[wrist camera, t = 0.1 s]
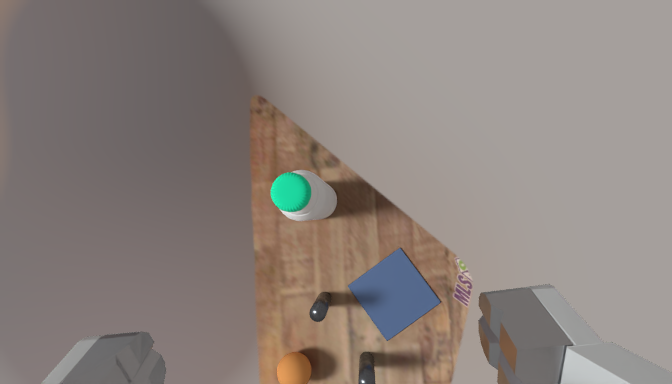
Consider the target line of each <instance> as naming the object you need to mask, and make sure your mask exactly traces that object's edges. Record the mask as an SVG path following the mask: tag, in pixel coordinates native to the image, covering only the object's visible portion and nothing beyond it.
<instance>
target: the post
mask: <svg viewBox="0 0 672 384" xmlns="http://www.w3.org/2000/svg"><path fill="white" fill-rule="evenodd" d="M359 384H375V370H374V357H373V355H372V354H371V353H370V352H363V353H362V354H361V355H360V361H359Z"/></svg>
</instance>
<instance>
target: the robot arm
mask: <svg viewBox="0 0 672 384" xmlns="http://www.w3.org/2000/svg"><path fill="white" fill-rule="evenodd" d="M479 307H480V309H481V311H482V313H483V316H482V317H481V318H480V319H479V335H480V340H481V345H482V347H483V351H484V353H485V356H486V358H487V360H488V362H489V364H490V365H492V366H493V367H495V368H496V369H497V370H498V384H672V372H670V371H667V370H666V369H664V368H662V367H660V366H658V365H656V364H654V363H652V362H650V361H648V360H646V359H644V358H642V357H640V356H638V355H636V354H634V353H632V352H631V351H629V350H627V349H625V348H623V347H621V346H619V345H617V344H615V343H613V342H606V343H604V342H603V341H602V340H601V339H600V337H599V336H598V335H597V334H596V333H595V332H594V331H593V330H592V329H591V327H590V326H589V325H588V324H587V323H586V322H585V321H584V320H583V318H582V317H581V316H580V315H579V314H578V313H577V312H576V311H575V309H574V308H573V307H572V306H571V305H570V304H569V303H568V302H567V300H566V299H565V298H564V297H563V296H562V295H561V294H560V292H559V291H558V290H557V289H556V288H555V287H554V286H552V285H550V284H546V285H538V286H530V287H526V288H516V289H507V290H500V291H491V292H483V293H481V294H480V296H479ZM153 344H154V341H153V339H152V337H151V336H150V334H149V333H147V332H132V333H120V334H110V335H103V336H90V337H86V338H84V339H82V340H80V341H78V343H77V344H76V345H75V346H74V347H73V348H72V349H71V350H70V352H69V353H68V354H67V355H66V356H65V357H64V358H63V360H62V361H61V362H60V363H59V364H58V365H57V366H56V367H55V368H54V370H53V371H52V372H51V373H50V374H49V375H48V376H47V378H46V379H45V380H44V381H43V382H42V383H41V384H164V379H165V374H166V367H165V362H164V360H163V358H162V356H161V354H159V353H158V352H156V351H155V350H153V349H152V347H153Z"/></svg>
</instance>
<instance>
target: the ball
mask: <svg viewBox="0 0 672 384" xmlns="http://www.w3.org/2000/svg"><path fill="white" fill-rule="evenodd" d="M310 376H311V364H310V362H309V360H308V358H307V357H306V356H305V355H303V354H302V353H299V352H292V353H289V354H287V355H285V356H284V357H283V358H282V359H281V361H280V363H279V365H278V368H277V377H278V380H279V382H280V384H307V383H308V381H309V379H310Z"/></svg>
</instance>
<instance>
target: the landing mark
mask: <svg viewBox="0 0 672 384" xmlns="http://www.w3.org/2000/svg"><path fill="white" fill-rule="evenodd" d="M348 287H349V288H350V290H351V291H352V293H353V294H354V295H355V297H356V298H357V300H358V301H359V302H360V304H361V305H362V307H363V308H364V309H365V311H366V312H367V314H368V315H369V316H370V318H371V319H372V321H373V322H374V323H375V325H376V326H377V328H378V329H379V330H380V332H381V333H382V335H383V336H384V337H385V339H386V340H387V341H388V340H389V339H391V338H392V337H393V336H395V335H396V334H397V333H399V332H400V331H402V330H403V329H404V328H406V327H407V326H409V325H410V324H411V323H413V322H414V321H415V320H417V319H418V318H420V317H421V316H422V315H424V314H425V313H427V312H428V311H429V310H431V309H432V308H434V307H435V306H436V305H438V304H439V303H440V301H439V299H438V298H437V297H436V295H435V294H434V293H433V291H432V290H431V289H430V287H429V286H428V285H427V283H426V282H425V281H424V279H423V278H422V276H421V275H420V274H419V272H418V271H417V270H416V268H415V267H414V266H413V264H412V263H411V262H410V260H409V259H408V258H407V256H406V255H405V254H404V252H403V251H402V250H401V248H399V249H398V250H396V251H395V252H393V253H392V254H391V255H389V256H388V257H387V258H385V259H384V260H383V261H381V262H380V263H378V264H377V265H376V266H374V267H373V268H372V269H370V270H369V271H367V272H366V273H365V274H363V275H362V276H361V277H359V278H358V279H357V280H355V281H354V282H352V283H351V284H350V285H348Z"/></svg>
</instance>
